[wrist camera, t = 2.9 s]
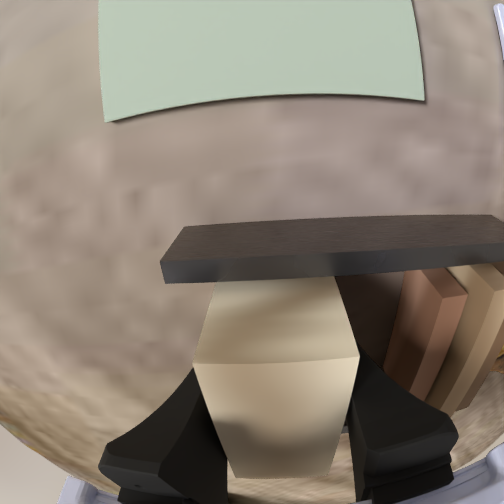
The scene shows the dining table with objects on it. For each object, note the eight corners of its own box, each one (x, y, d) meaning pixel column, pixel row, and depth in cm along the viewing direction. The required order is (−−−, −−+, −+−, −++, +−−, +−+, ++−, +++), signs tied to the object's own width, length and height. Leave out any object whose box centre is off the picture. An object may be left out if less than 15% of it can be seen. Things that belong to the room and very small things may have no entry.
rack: (491, 214, 10) (529, 240, 8) (441, 373, 15) (457, 408, 12) (184, 226, 12) (159, 261, 9) (222, 395, 16) (215, 437, 14)
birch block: (323, 248, 12) (359, 356, 6) (317, 379, 15) (327, 475, 10) (225, 254, 12) (192, 363, 7) (245, 382, 16) (235, 478, 10)
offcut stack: (481, 235, 11) (538, 282, 7) (442, 361, 15) (469, 415, 11) (408, 238, 11) (461, 297, 7) (380, 373, 15) (399, 436, 11)
